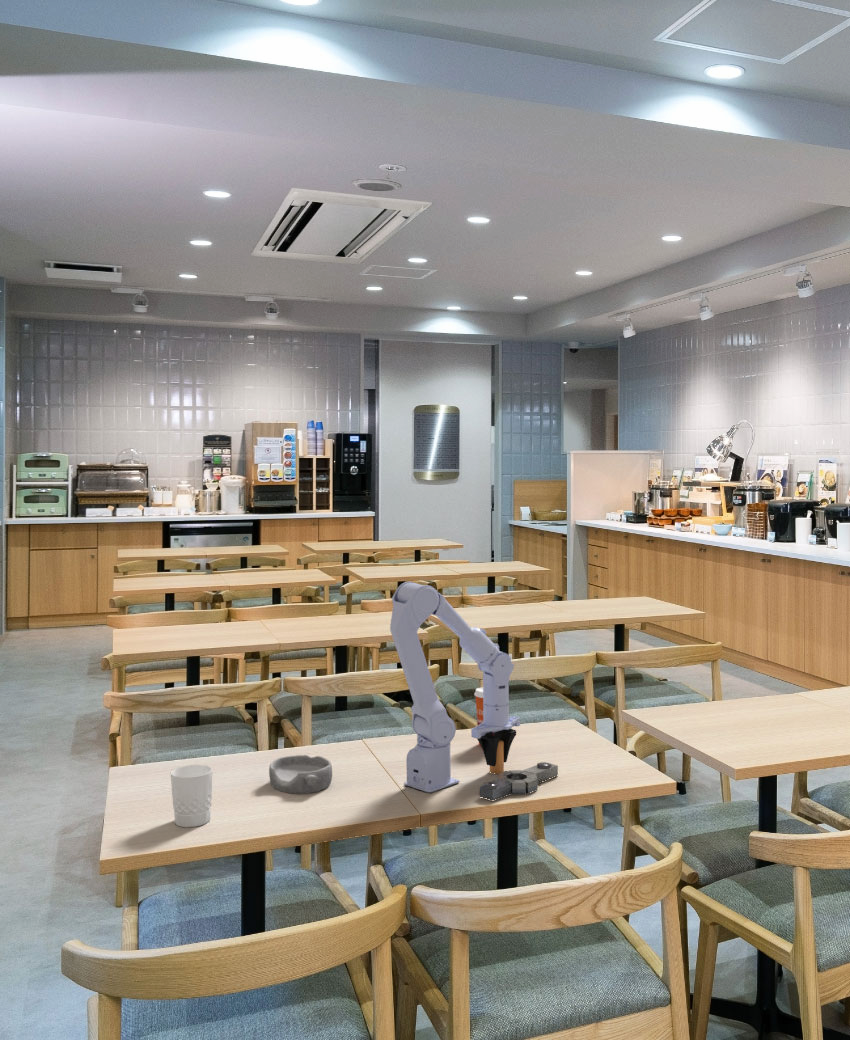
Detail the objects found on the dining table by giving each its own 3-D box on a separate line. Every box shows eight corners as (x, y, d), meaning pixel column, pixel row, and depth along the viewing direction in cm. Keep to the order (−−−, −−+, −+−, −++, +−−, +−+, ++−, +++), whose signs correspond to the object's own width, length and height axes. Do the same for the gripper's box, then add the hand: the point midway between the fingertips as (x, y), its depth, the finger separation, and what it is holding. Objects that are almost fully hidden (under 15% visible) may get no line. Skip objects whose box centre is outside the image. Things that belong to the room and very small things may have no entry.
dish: (321, 798, 191) (321, 774, 190) (259, 794, 193) (258, 771, 193) (341, 776, 205) (341, 754, 205) (283, 772, 208) (282, 751, 207)
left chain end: (501, 804, 185) (501, 790, 185) (470, 794, 191) (470, 781, 190) (544, 787, 195) (544, 774, 195) (514, 778, 201) (514, 766, 200)
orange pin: (497, 775, 203) (497, 744, 203) (486, 772, 205) (486, 741, 205) (506, 772, 205) (506, 741, 205) (496, 769, 208) (495, 738, 207)
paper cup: (468, 744, 227) (467, 689, 226) (489, 738, 232) (489, 684, 231) (491, 751, 221) (490, 694, 220) (512, 745, 226) (511, 689, 226)
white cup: (218, 813, 182) (216, 764, 181) (207, 828, 174) (205, 777, 173) (179, 813, 182) (177, 764, 182) (166, 828, 174) (165, 777, 174)
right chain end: (519, 797, 189) (519, 783, 189) (489, 788, 195) (489, 775, 195) (566, 778, 200) (566, 765, 200) (536, 770, 206) (536, 758, 206)
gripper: (488, 712, 197) (488, 774, 197) (530, 700, 207) (530, 759, 207) (464, 707, 202) (464, 767, 202) (506, 695, 212) (507, 753, 212)
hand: (496, 763), depth 205 cm, fingers open, 3 cm apart
